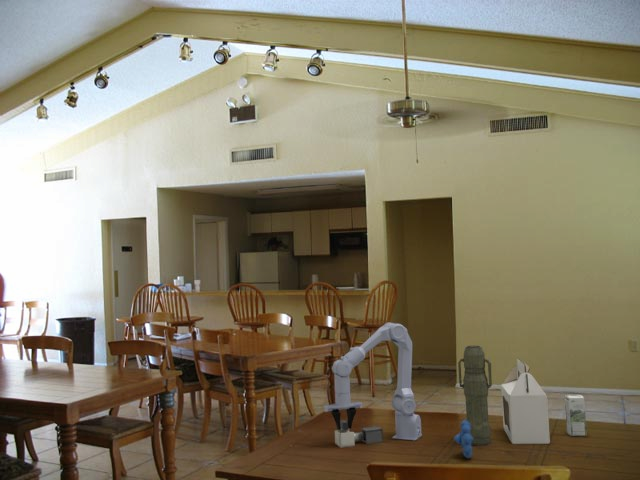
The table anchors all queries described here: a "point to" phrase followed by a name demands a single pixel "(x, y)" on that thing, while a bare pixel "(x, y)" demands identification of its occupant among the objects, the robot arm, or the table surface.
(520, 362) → the gable box
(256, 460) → the table surface
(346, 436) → the ceramic socket
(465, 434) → the grapes
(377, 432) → the charcoal sleeve
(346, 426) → the silver cylinder with handle
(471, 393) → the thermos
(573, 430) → the syrup box
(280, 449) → the table surface
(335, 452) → the table surface
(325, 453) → the table surface
